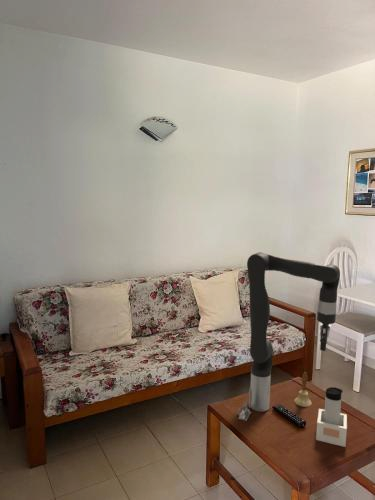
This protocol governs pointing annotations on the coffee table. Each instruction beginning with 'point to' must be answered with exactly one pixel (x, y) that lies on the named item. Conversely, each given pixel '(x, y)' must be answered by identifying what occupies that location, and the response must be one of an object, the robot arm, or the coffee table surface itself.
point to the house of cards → (244, 412)
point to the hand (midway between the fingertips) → (323, 346)
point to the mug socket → (331, 430)
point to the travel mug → (332, 406)
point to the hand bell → (303, 394)
